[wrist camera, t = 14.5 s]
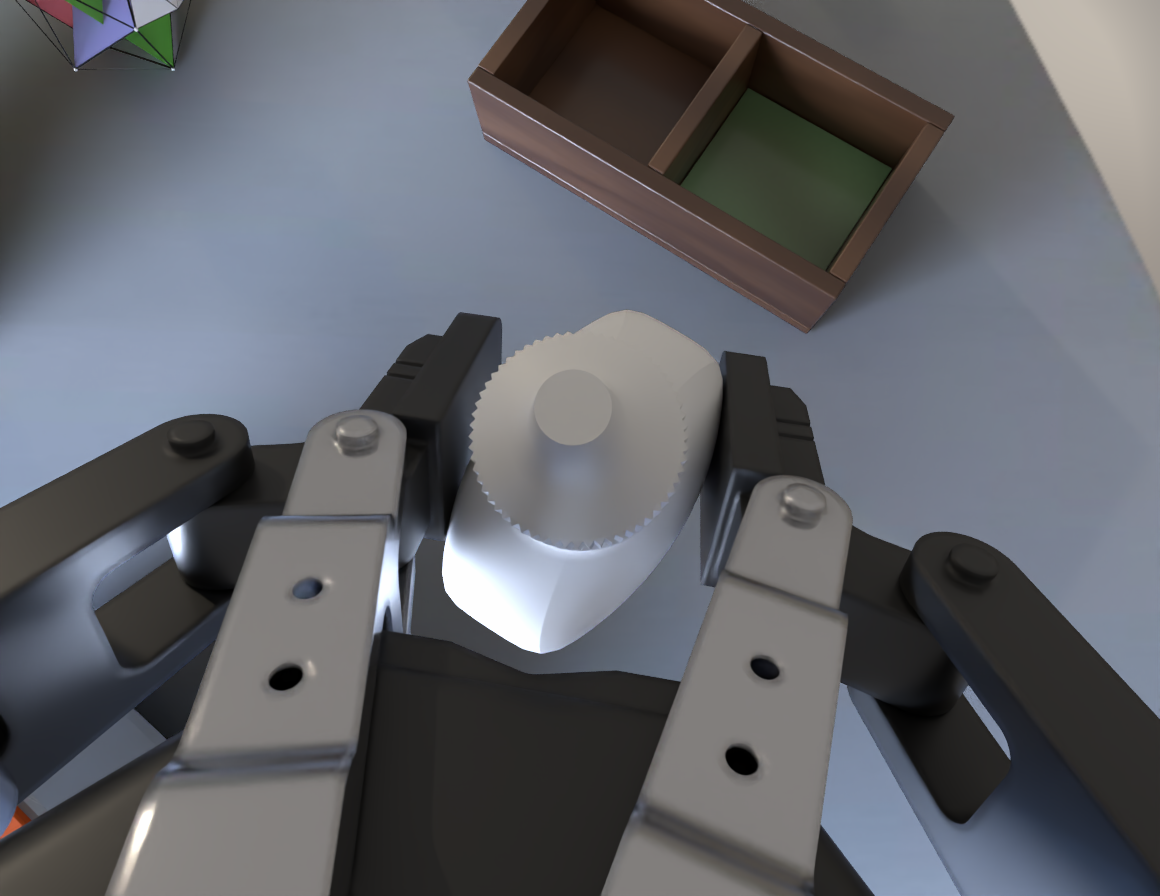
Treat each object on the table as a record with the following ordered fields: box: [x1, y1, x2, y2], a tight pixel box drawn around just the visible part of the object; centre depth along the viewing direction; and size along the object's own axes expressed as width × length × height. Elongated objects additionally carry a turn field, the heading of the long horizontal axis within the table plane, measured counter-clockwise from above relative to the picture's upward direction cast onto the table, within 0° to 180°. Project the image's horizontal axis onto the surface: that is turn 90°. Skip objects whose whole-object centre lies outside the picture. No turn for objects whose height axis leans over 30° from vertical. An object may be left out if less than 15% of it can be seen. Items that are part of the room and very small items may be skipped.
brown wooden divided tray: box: [468, 0, 954, 333], centre depth 30 cm, size 9×17×4 cm, turn 56°
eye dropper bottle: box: [442, 310, 723, 654], centre depth 12 cm, size 4×6×12 cm
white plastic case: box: [0, 709, 166, 839], centre depth 25 cm, size 14×3×8 cm, turn 51°
